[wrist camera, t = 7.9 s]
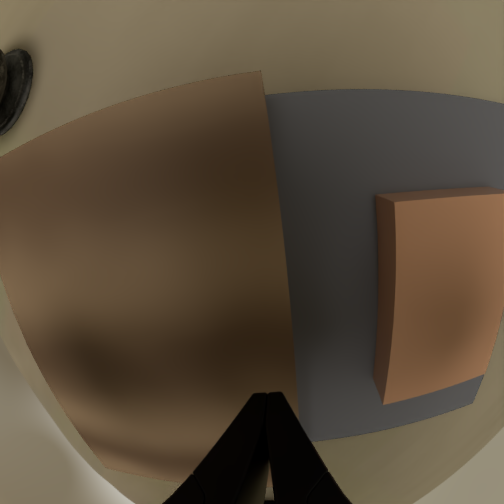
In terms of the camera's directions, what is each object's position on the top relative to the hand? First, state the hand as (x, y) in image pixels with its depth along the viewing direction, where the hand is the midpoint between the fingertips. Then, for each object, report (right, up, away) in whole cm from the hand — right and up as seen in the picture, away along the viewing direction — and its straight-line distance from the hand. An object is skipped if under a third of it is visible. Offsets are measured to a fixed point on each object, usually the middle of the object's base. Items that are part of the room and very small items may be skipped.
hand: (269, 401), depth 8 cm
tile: (+8, +2, +2) cm, 8 cm away
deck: (-5, +1, +5) cm, 7 cm away
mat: (+7, +2, +4) cm, 9 cm away
